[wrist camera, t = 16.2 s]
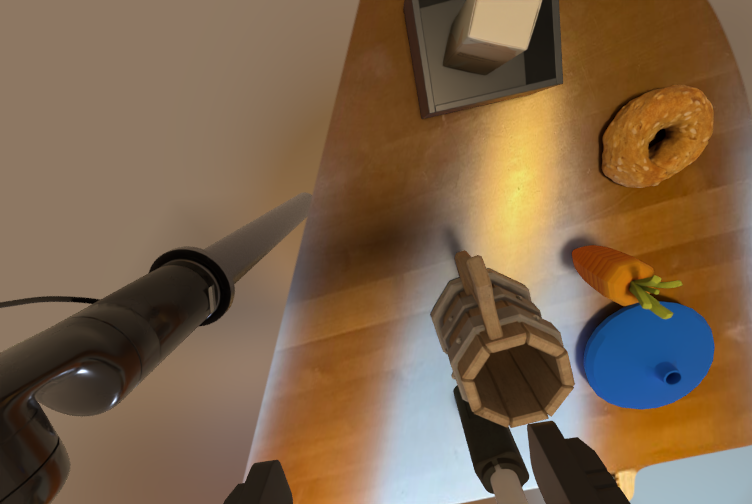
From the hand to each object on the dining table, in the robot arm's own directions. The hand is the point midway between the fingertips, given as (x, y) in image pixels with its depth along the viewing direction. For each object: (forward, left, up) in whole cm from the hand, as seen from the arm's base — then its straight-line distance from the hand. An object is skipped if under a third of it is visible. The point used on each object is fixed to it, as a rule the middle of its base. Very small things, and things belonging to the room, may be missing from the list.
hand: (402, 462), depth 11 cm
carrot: (+22, -8, -34) cm, 42 cm away
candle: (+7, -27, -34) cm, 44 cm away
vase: (+29, -23, -34) cm, 50 cm away
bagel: (+30, +4, -34) cm, 46 cm away
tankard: (+9, -11, -34) cm, 37 cm away
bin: (+12, +17, -34) cm, 40 cm away
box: (+12, +17, -34) cm, 40 cm away
